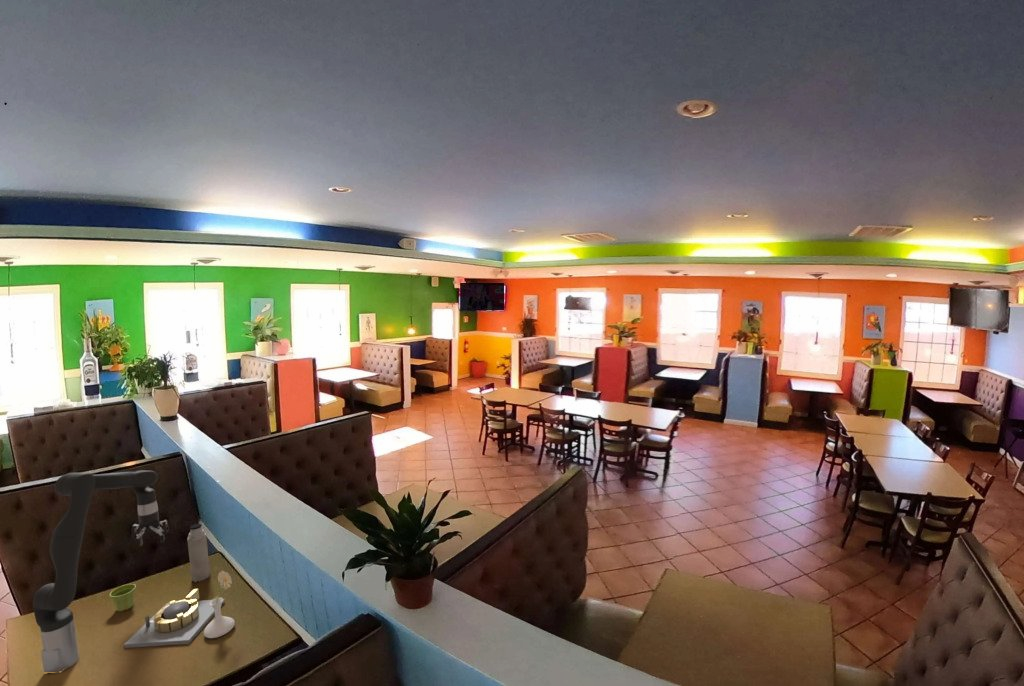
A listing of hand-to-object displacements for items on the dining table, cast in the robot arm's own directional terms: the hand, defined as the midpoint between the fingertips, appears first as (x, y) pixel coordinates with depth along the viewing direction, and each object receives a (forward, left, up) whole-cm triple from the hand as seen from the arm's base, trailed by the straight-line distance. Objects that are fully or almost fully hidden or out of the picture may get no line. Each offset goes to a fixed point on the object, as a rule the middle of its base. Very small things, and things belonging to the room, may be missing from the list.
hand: (151, 543), depth 221 cm
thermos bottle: (+13, -13, -27) cm, 32 cm away
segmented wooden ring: (-19, -24, -24) cm, 39 cm away
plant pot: (-8, +9, -27) cm, 29 cm away
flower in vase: (-28, -46, -27) cm, 60 cm away
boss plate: (-22, -24, -27) cm, 42 cm away
